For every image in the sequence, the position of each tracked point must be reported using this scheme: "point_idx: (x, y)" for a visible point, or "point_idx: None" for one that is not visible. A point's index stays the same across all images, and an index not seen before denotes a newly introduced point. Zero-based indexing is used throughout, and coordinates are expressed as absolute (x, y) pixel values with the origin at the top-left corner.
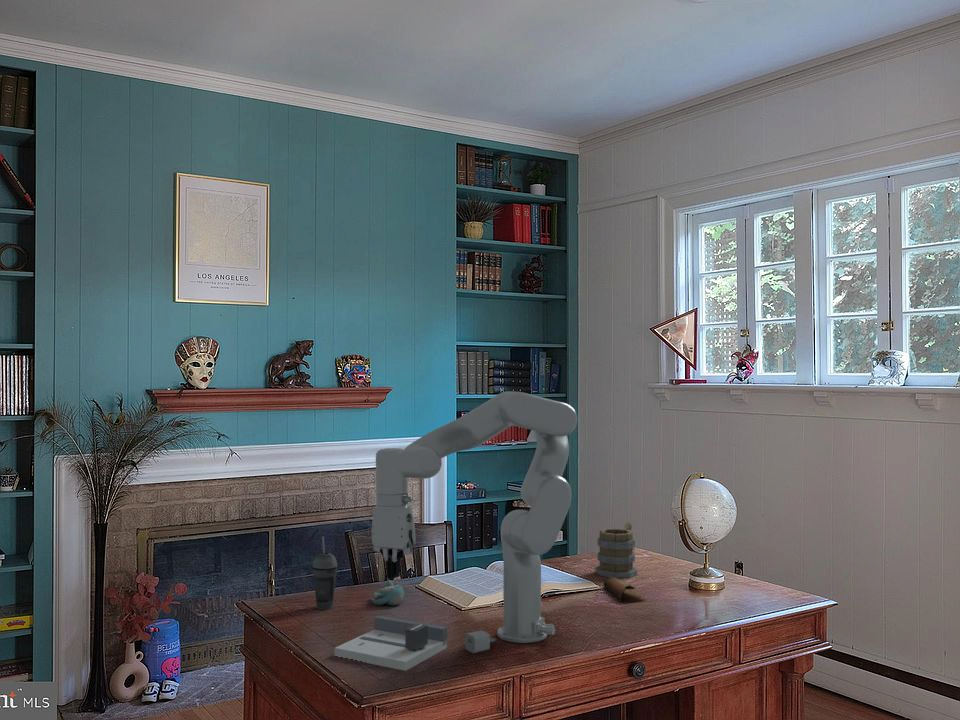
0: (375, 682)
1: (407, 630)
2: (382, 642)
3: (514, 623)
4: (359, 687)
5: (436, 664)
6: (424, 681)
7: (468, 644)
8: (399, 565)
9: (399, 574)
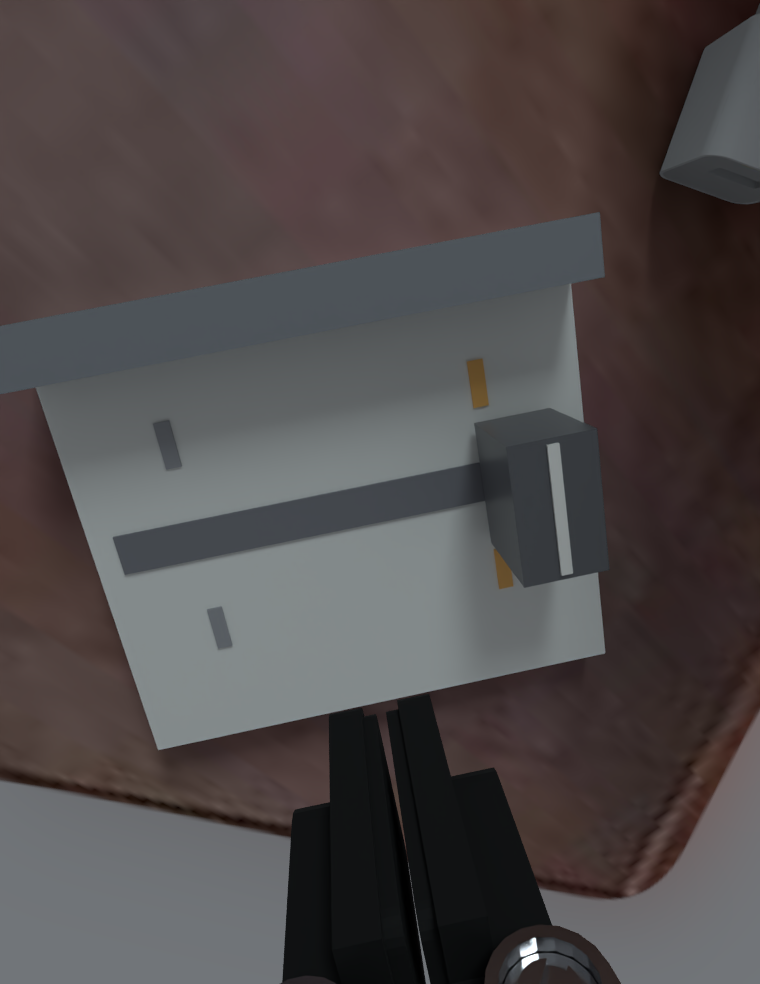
0: (567, 791)
1: (539, 581)
2: (295, 539)
3: None
4: (550, 857)
5: (655, 477)
6: (731, 660)
7: (703, 178)
8: (534, 888)
9: (431, 709)
